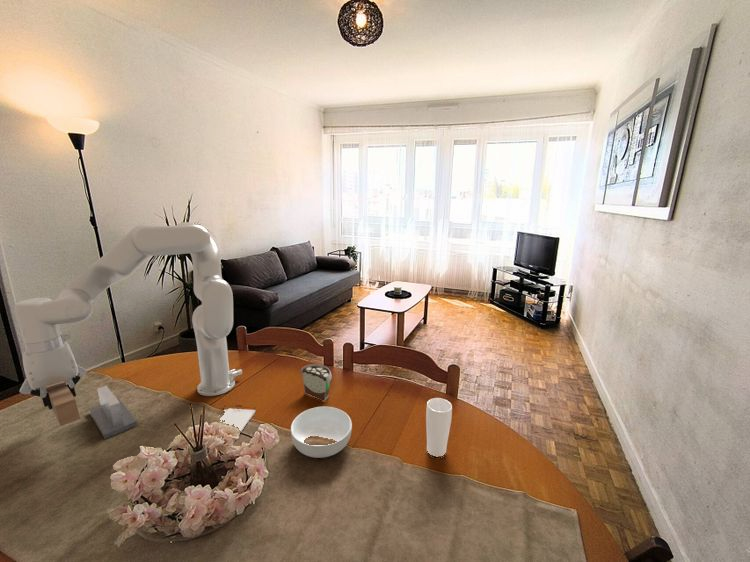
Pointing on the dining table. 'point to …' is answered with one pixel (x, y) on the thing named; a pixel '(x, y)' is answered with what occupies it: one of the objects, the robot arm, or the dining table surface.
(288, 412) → the dining table surface
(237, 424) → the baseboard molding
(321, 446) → the cereal bowl
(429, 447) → the drinking glass
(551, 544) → the dining table surface
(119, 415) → the balance stand
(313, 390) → the food container
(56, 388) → the walnut bar
